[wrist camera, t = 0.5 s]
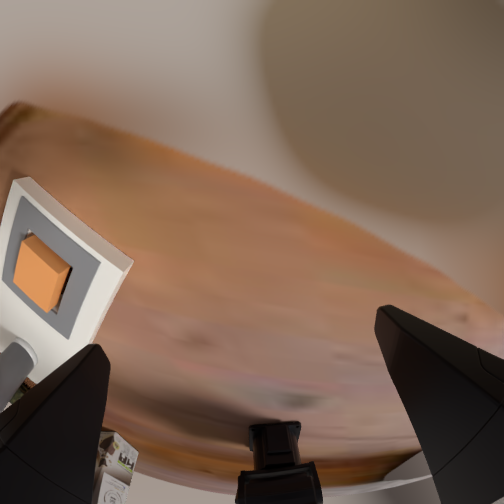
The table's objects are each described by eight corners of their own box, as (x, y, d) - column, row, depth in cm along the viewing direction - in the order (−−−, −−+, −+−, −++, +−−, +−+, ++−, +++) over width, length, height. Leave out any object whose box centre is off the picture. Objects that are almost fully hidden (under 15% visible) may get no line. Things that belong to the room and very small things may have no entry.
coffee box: (114, 429, 30) (87, 517, 15) (139, 452, 32) (121, 533, 17) (77, 429, 31) (47, 502, 15) (101, 451, 33) (79, 521, 17)
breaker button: (35, 234, 19) (22, 240, 17) (70, 265, 20) (58, 274, 18) (24, 273, 20) (12, 281, 18) (57, 303, 21) (47, 313, 19)
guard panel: (29, 176, 19) (11, 179, 16) (134, 260, 22) (122, 273, 19) (-2, 331, 24) (-13, 341, 22) (71, 392, 27) (63, 406, 25)
